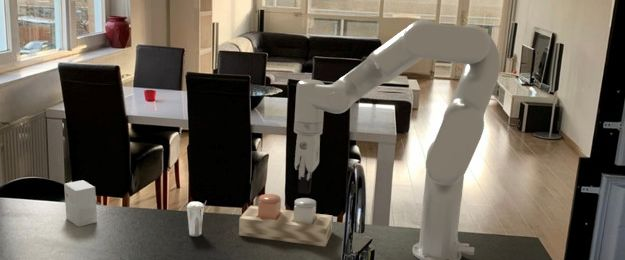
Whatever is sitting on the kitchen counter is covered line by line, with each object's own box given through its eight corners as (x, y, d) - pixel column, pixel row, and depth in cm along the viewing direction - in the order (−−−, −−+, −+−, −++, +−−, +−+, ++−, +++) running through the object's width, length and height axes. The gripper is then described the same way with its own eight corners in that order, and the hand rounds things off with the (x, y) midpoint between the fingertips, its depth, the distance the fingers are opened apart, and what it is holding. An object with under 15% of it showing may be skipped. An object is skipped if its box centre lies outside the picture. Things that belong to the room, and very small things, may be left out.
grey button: (316, 219, 170) (317, 199, 169) (312, 227, 165) (313, 206, 163) (296, 216, 171) (297, 197, 170) (291, 224, 166) (292, 204, 164)
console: (331, 232, 172) (332, 215, 171) (325, 246, 163) (326, 229, 162) (250, 221, 177) (250, 205, 176) (239, 235, 167) (239, 218, 166)
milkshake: (203, 238, 164) (203, 203, 162) (184, 236, 165) (184, 201, 163) (209, 232, 168) (209, 197, 166) (190, 230, 169) (190, 195, 167)
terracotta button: (282, 214, 172) (282, 195, 171) (276, 222, 167) (277, 202, 165) (262, 212, 173) (262, 193, 172) (256, 219, 168) (256, 199, 166)
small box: (97, 222, 171) (95, 187, 169) (77, 227, 167) (75, 190, 165) (85, 214, 177) (83, 179, 174) (65, 218, 173) (63, 183, 171)
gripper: (316, 135, 154) (311, 203, 158) (327, 122, 168) (323, 185, 172) (287, 131, 155) (283, 199, 160) (301, 119, 169) (297, 182, 174)
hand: (304, 192), depth 166 cm, fingers closed
